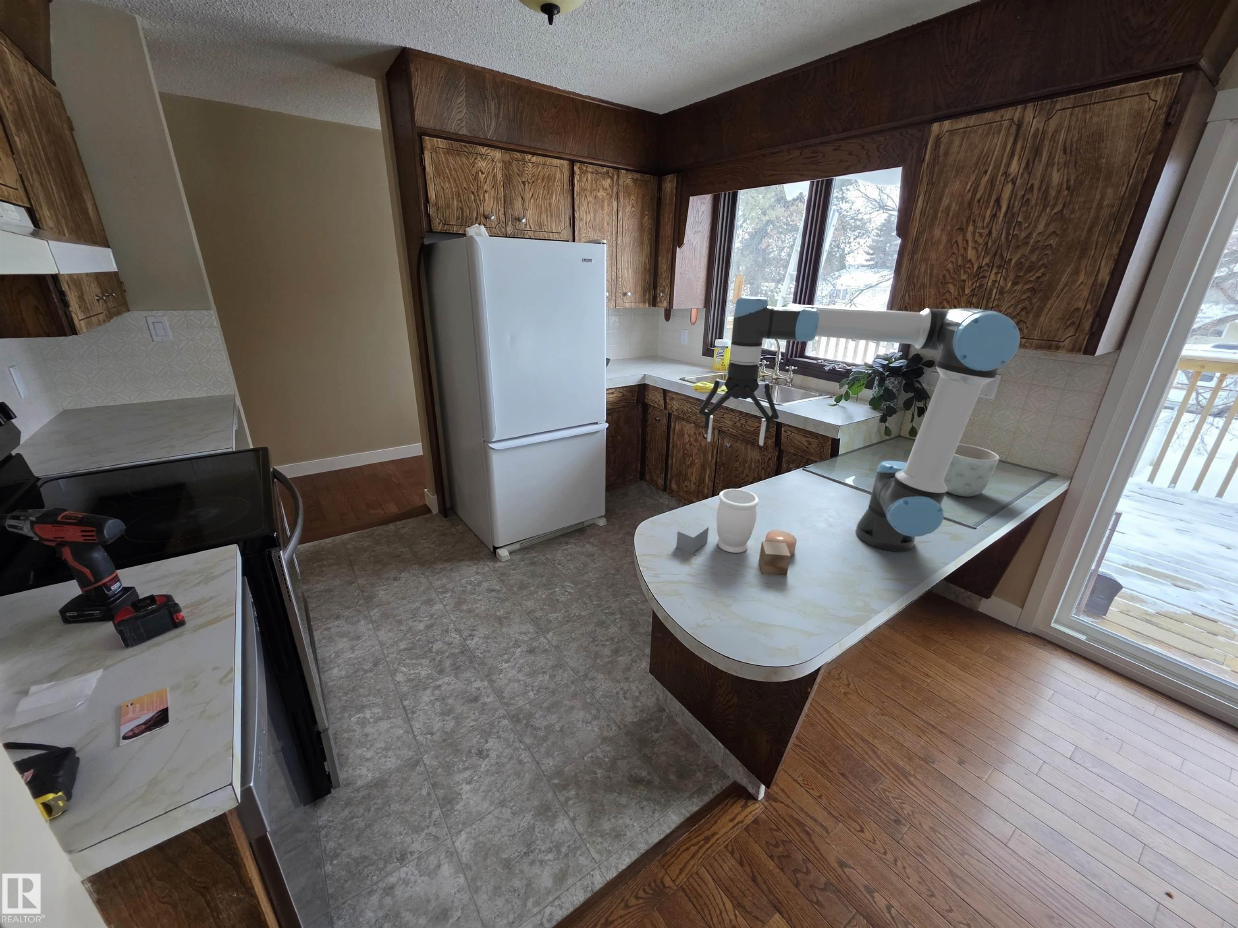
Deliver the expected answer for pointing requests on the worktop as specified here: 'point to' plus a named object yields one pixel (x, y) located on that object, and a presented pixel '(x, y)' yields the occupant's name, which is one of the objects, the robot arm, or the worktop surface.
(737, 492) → the jar
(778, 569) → the walnut block
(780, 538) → the glossy peach dome
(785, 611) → the worktop surface
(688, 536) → the slate block
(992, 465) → the planter
